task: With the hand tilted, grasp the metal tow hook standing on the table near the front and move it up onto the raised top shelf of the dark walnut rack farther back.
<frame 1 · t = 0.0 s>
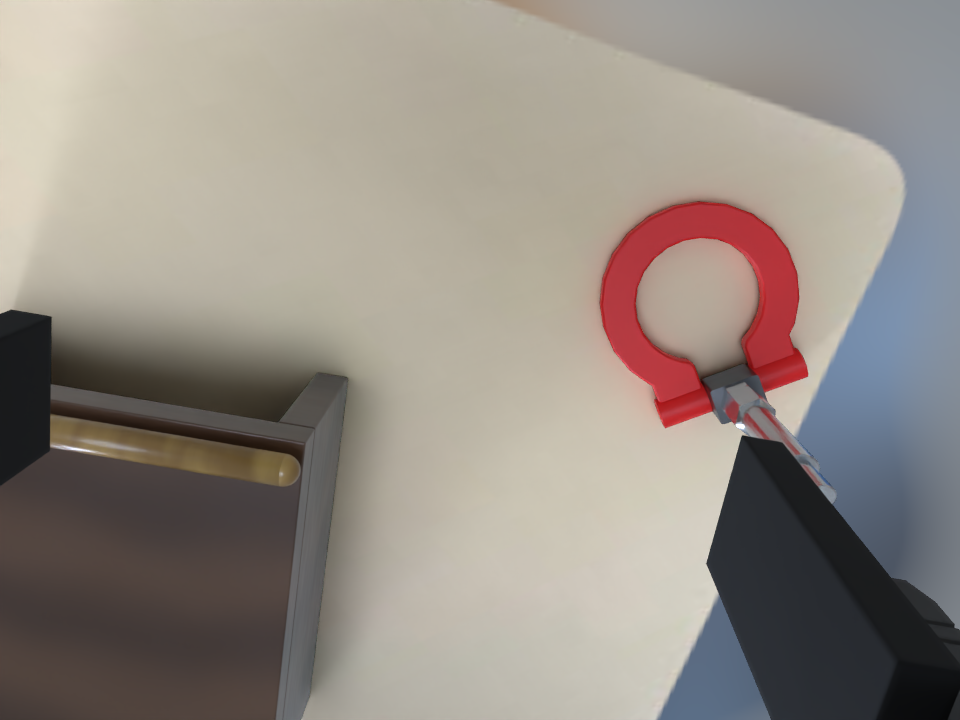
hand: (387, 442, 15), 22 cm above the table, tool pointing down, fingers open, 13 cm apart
rack: (168, 520, 41), on the table
tow hook: (696, 305, 37), on the table
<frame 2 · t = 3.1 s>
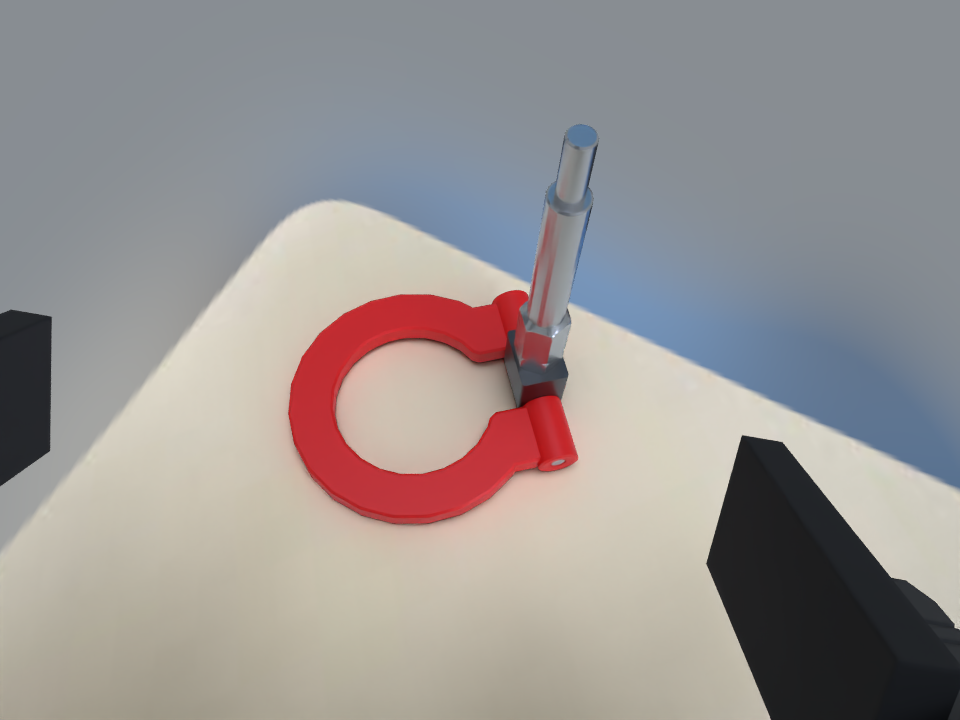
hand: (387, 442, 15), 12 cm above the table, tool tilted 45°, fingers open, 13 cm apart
tow hook: (425, 409, 29), on the table
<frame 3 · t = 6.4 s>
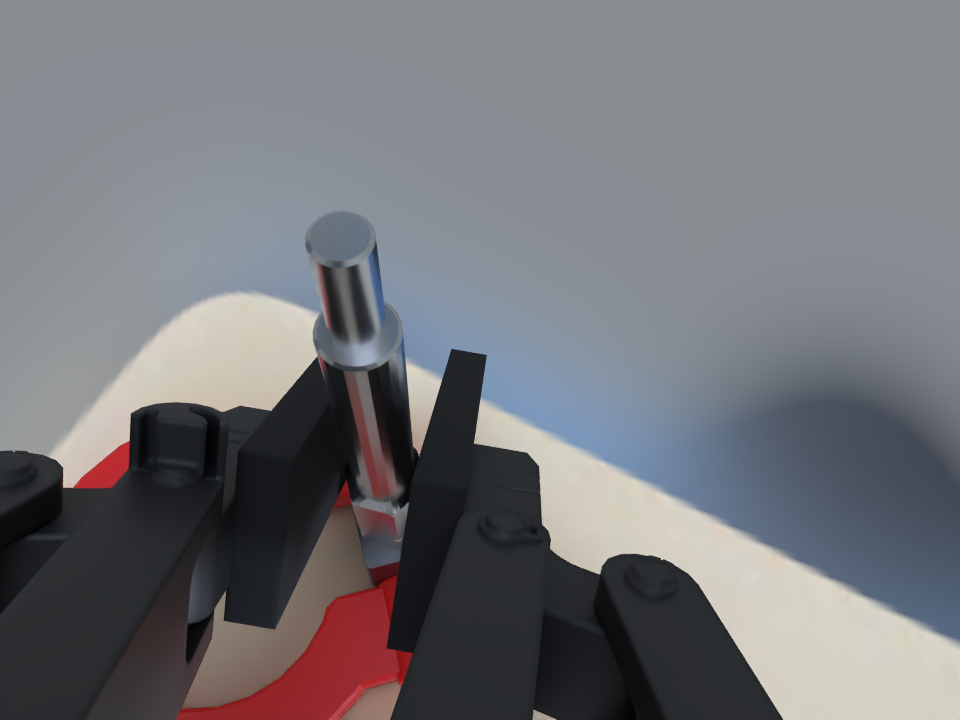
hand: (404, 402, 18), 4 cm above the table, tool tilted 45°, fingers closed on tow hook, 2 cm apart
tow hook: (241, 586, 20), on the table, touching gripper
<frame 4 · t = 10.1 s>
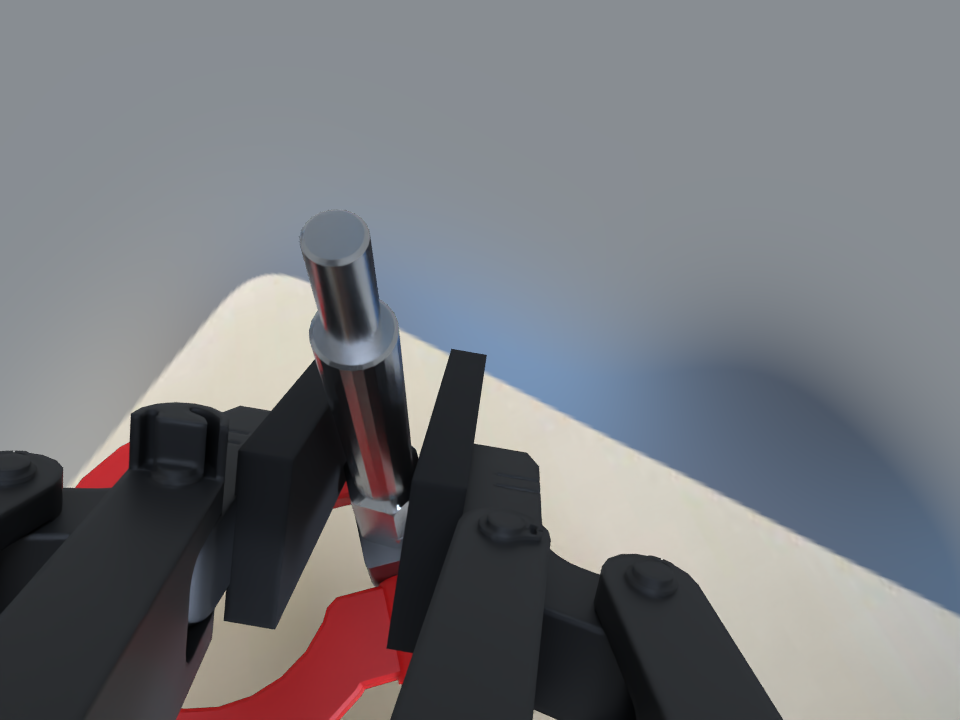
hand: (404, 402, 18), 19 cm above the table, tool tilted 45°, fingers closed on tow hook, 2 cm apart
tow hook: (242, 586, 20), point 15 cm above the table, touching gripper
when the fingers open (13 cm above the table, at t = 14.0 s): tow hook stays where it is, resting on rack.
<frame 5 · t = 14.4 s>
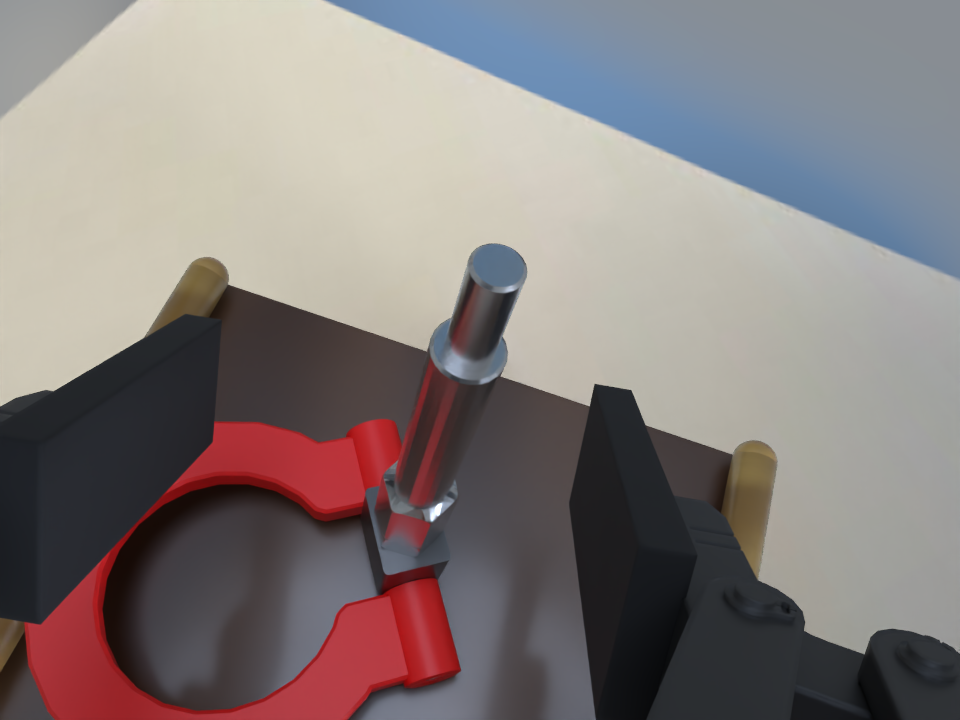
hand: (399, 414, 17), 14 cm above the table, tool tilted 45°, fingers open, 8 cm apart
rack: (381, 673, 28), on the table
tow hook: (244, 592, 20), point 9 cm above the table, touching rack
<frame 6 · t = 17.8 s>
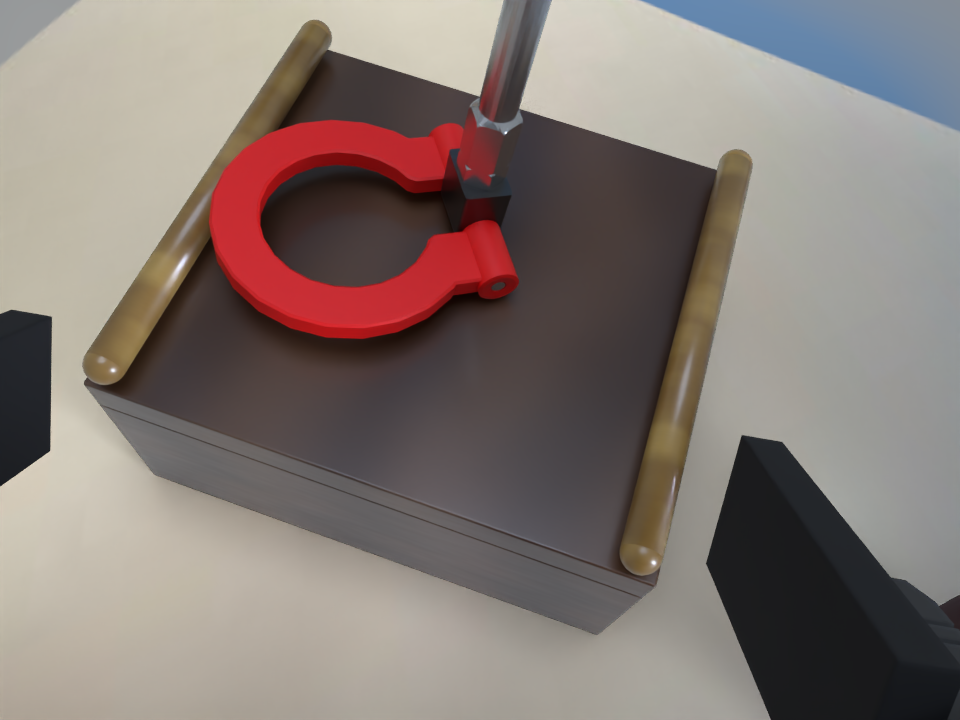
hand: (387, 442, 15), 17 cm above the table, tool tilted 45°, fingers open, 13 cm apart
rack: (442, 376, 35), on the table
tow hook: (357, 236, 27), point 9 cm above the table, touching rack
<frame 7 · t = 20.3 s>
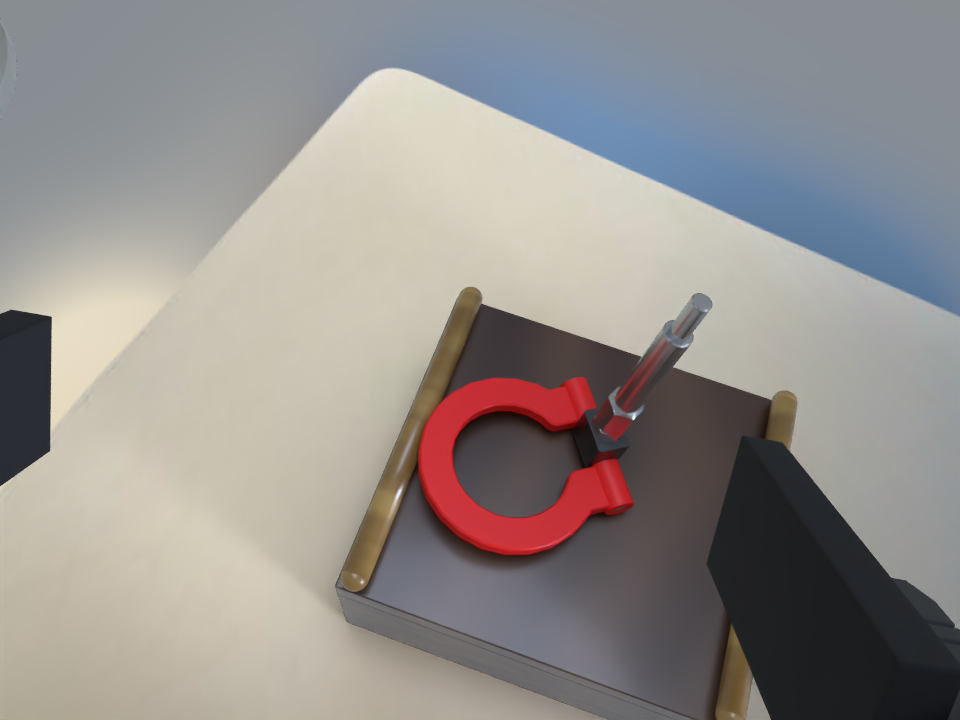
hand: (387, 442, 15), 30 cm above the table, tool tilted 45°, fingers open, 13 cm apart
rack: (554, 537, 45), on the table
tow hook: (515, 467, 38), point 9 cm above the table, touching rack
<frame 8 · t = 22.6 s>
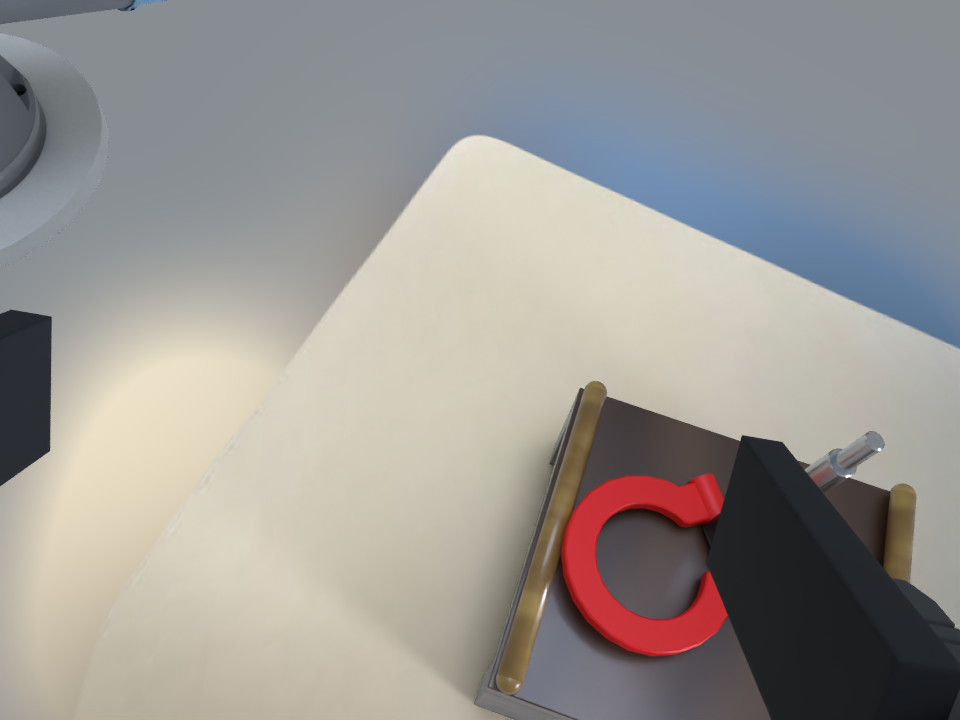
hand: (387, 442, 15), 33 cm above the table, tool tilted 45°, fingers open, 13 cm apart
rack: (667, 616, 47), on the table
tow hook: (650, 564, 39), point 9 cm above the table, touching rack
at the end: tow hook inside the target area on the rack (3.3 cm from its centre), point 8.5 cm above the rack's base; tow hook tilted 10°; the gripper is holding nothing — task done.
